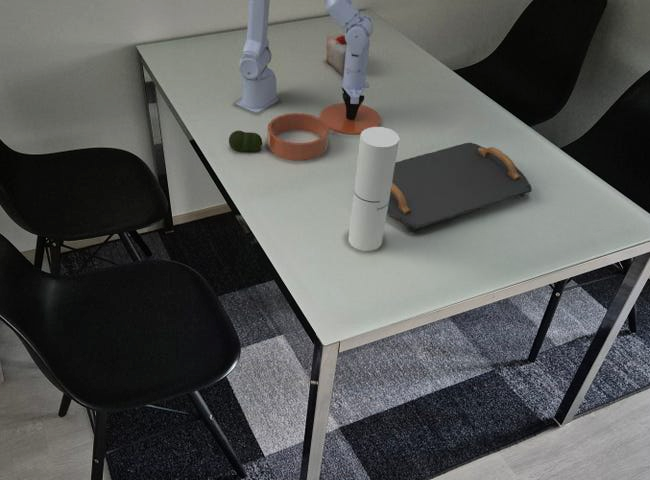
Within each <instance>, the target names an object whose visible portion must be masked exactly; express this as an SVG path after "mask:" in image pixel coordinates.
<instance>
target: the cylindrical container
mask: <svg viewBox="0 0 650 480" xmlns="http://www.w3.org/2000/svg"><path fill="white" fill-rule="evenodd" d="M399 142H400V136H399V134H398V133H397V132H396V131H395V130H393V129H391V128H388V127H382V126H378V127H371V128H367V129H365V130H364V131H362V133H361V134H360V138H359V145H358V146H359V147H358V154H357V163H356V172H355V181H354V187H353V196H352V205H351V213H350V221H349V231H348V243H349V244H350V246H351V247H353V248H355V249H356V250H358V251H361V252H362V251H363V252H373V251H376V250H378V249H379V248H380V247H381V246H382V244H383V239H384V234H385V228H386V221H387V215H388V213H387V210H388V204H389V198H390V192H391V186H392V180H393V174H394V168H395V162H397V154H398V148H399Z"/></svg>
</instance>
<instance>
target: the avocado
mask: <svg viewBox="0 0 650 480" xmlns="http://www.w3.org/2000/svg"><path fill="white" fill-rule="evenodd" d="M228 145H229V147H230V148H231V149H232V150H233V151H236V152H251V153H252V152H257V151H259V150H260V149H261V148H262V145H263V139H262V136H261V135H260V134H259V133H256V132H251V131H250V132H247V131H243V130H234V131H232V133H231V134H230V135H229V137H228Z"/></svg>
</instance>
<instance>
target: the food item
mask: <svg viewBox="0 0 650 480" xmlns="http://www.w3.org/2000/svg"><path fill="white" fill-rule="evenodd" d="M325 48H326V49H325V51H326V55H325V56H326V57H325V58H326V60H325V61H326V62H327V63H328V64H329V65H330V66H332V67H333V68H334V69H335V70H336V71H337V72H338V73H339V74H340V75H341V76H342V77H344V66H345V55H346V48H347V42H346V40H345V34H340V33H334V34H331V35H328V36H327V37H326V46H325Z"/></svg>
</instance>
